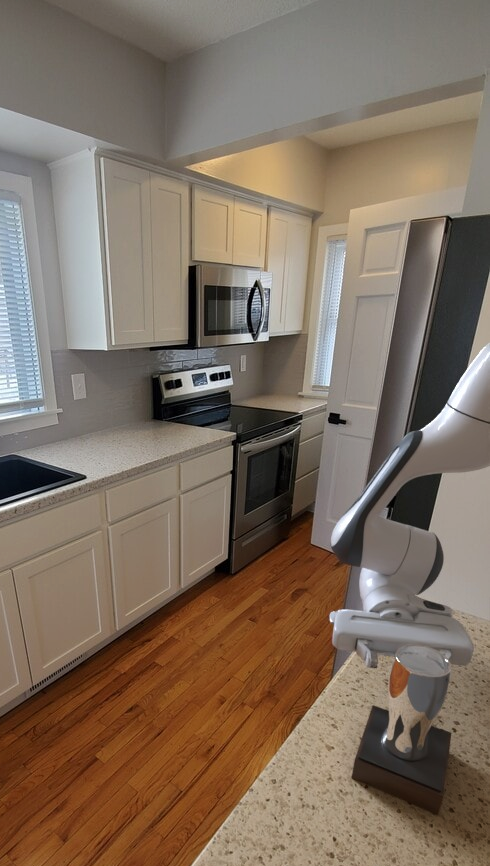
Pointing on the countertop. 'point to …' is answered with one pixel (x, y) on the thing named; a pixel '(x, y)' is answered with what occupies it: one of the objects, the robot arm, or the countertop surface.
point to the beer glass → (414, 699)
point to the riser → (403, 765)
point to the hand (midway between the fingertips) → (406, 669)
